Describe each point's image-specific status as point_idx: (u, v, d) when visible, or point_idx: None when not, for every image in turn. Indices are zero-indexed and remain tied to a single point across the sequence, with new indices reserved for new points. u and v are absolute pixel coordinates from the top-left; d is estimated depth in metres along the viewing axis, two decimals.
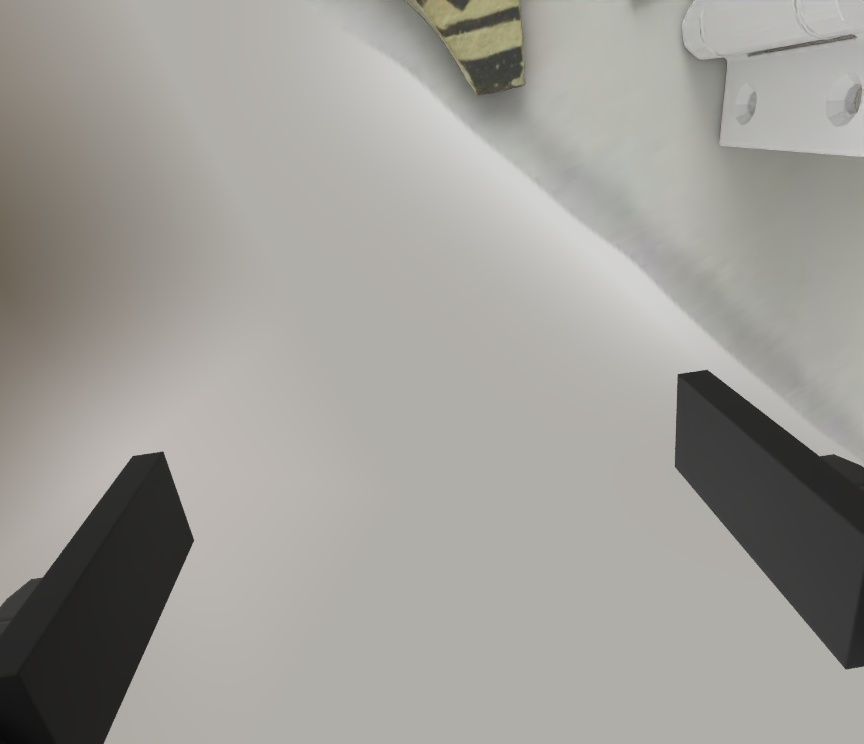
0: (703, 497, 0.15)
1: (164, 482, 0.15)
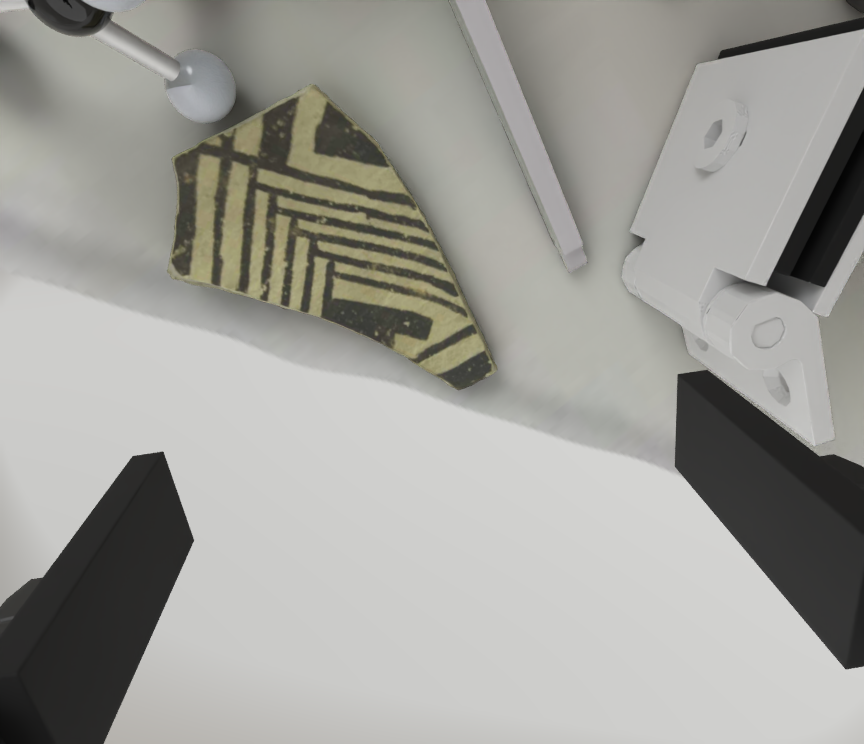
0: (703, 497, 0.15)
1: (164, 482, 0.15)
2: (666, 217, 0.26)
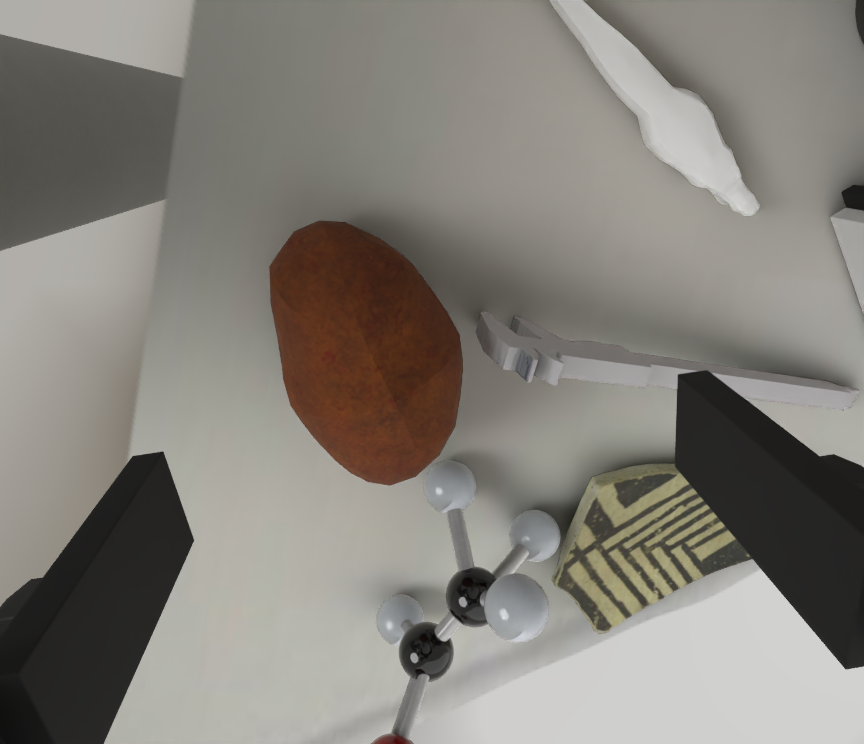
0: (703, 497, 0.15)
1: (164, 482, 0.15)
2: None
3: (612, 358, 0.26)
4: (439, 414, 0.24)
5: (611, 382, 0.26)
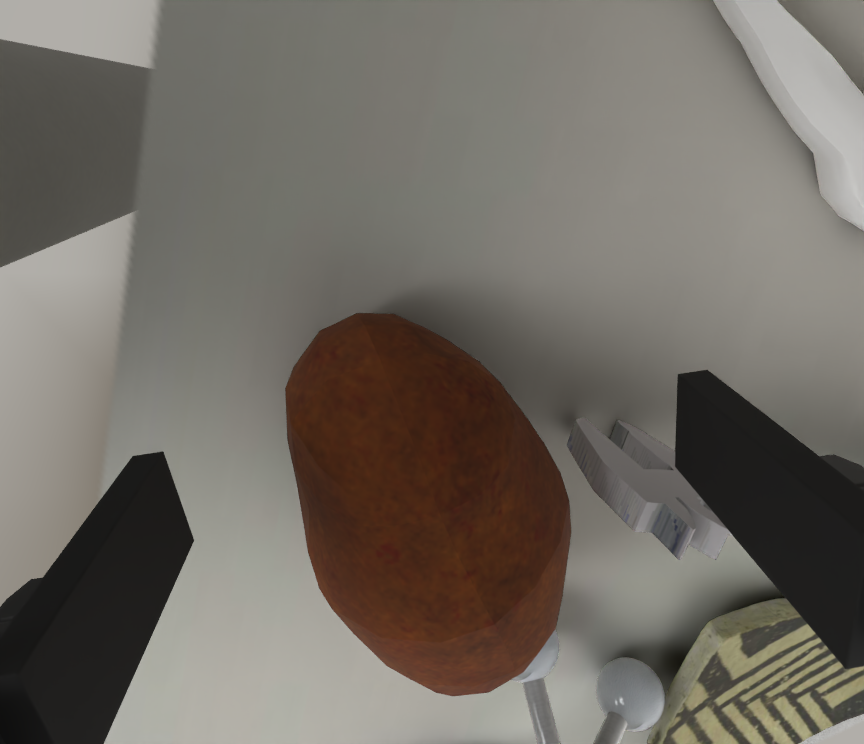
0: (703, 497, 0.15)
1: (164, 482, 0.15)
2: None
3: None
4: (549, 616, 0.16)
5: None
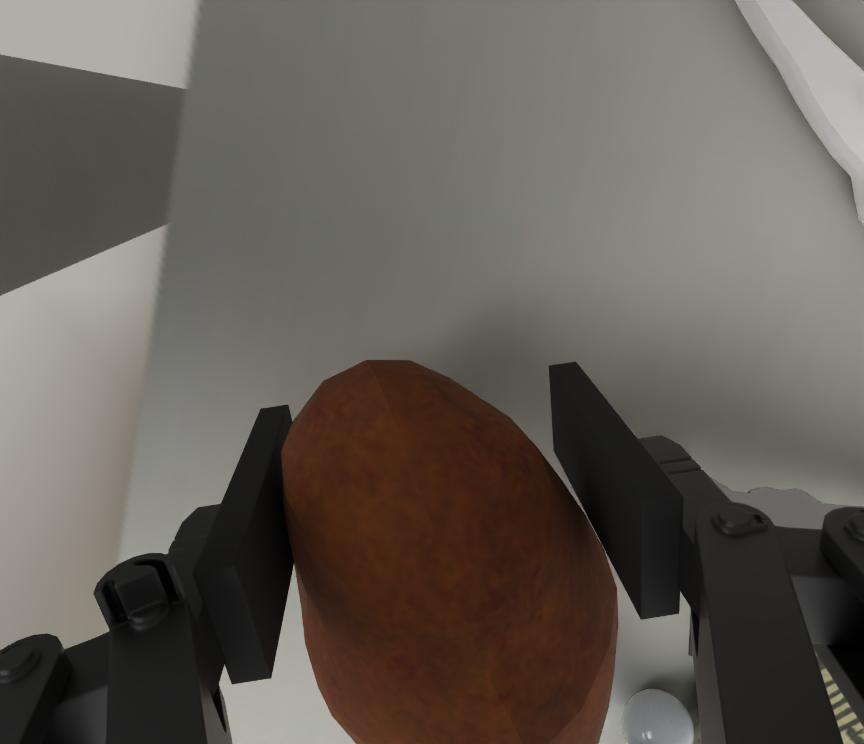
0: (568, 477, 0.16)
1: None
2: None
3: (814, 527, 0.18)
4: (595, 736, 0.13)
5: None
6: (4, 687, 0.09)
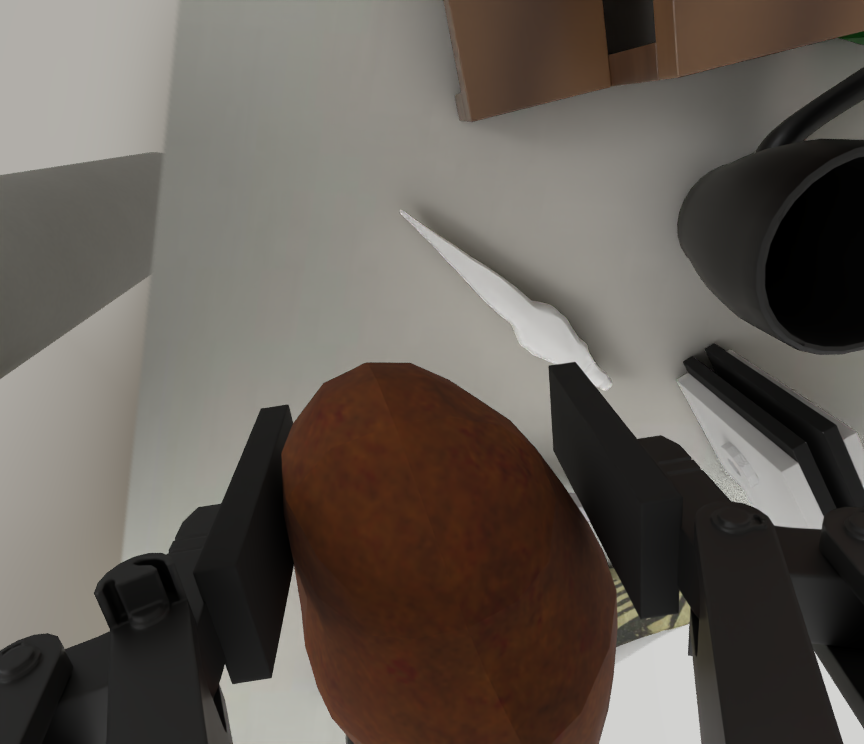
0: (568, 477, 0.16)
1: None
2: (745, 484, 0.35)
3: None
4: (594, 739, 0.13)
5: None
6: (5, 687, 0.09)
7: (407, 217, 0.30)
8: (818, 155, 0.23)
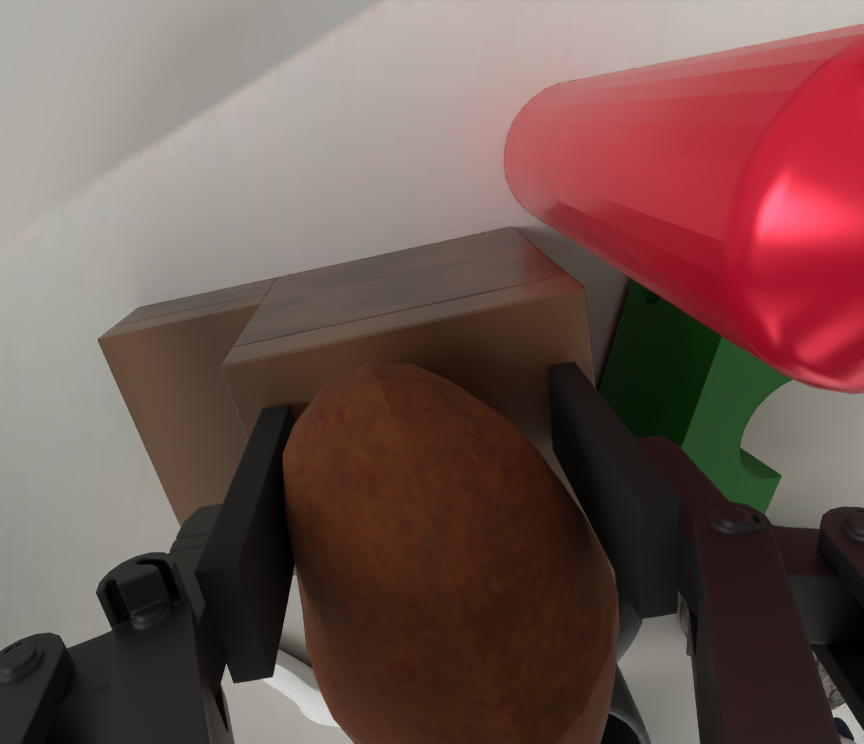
0: (567, 477, 0.16)
1: None
2: None
3: None
4: (596, 739, 0.13)
5: None
6: (7, 686, 0.09)
7: None
8: None
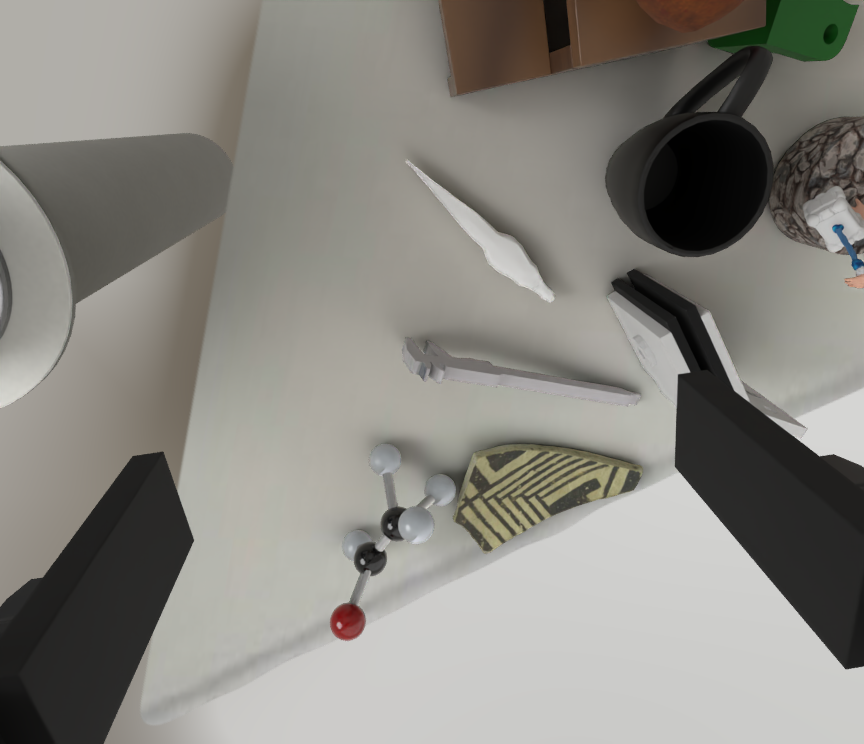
0: (703, 497, 0.15)
1: (164, 482, 0.15)
2: (654, 374, 0.47)
3: (478, 369, 0.45)
4: None
5: (476, 383, 0.45)
6: None
7: (410, 165, 0.42)
8: (677, 120, 0.35)
